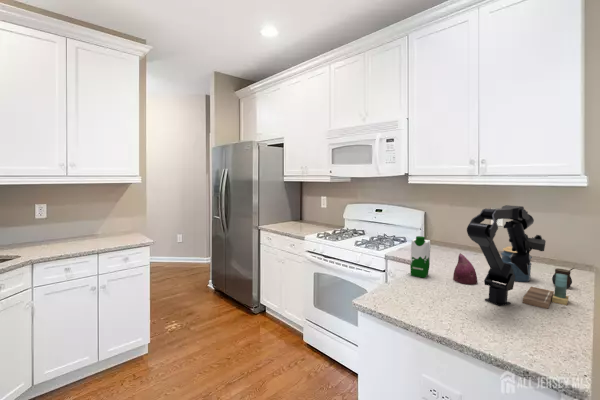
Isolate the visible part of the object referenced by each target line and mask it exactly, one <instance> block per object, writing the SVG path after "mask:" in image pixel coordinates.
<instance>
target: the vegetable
mask: <svg viewBox="0 0 600 400" xmlns="http://www.w3.org/2000/svg"><path fill="white" fill-rule="evenodd" d="M457 259H458V260H457V262H456V263H457V264H456V265H455V268H454V272H453V277H452V280H453V281H454V282H456V283H459V284H462V285H468V286H470V285H471V286H472V285H473V286H474V285H477V284H478V277H477V272H476V268H475V267H474V265H473V264H472V263H471V262H470V260H469V259H468V258H467V257H466V256H465V255H464V254H462V253H461V252H459V254H458V258H457Z"/></svg>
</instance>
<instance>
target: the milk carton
mask: <svg viewBox="0 0 600 400" xmlns="http://www.w3.org/2000/svg"><path fill="white" fill-rule="evenodd" d="M425 238H426V237H425V236H420V235H418V236H416V237H415V238H413V239H412V240H411V242H410V243H411V245H410V246H411V247H410V263H409V264H410V266H409V267H410V276H411V277H417V278H422V279H426V278H427V276H428V275H429V270H430V264H431V263H430V262H431V240H430V239H425Z"/></svg>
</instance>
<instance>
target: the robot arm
mask: <svg viewBox="0 0 600 400" xmlns="http://www.w3.org/2000/svg"><path fill="white" fill-rule="evenodd" d="M485 220H490V221H493V222H492V224H490V223H483V222H484V221H485ZM498 220H509V221H505V224H504V225H503V229H506V231H507V234H508V237H509V238H508V242H509V243H510V244H511V246H512V251H516V252H517V253H513V254H512V255H511V258H510V259H511V262H512V263H513V264H515V265H516V266H517V267H518V268H519V269H520V270H521V271H522V272H523V273H524V274H525V275H528V265H530V262H531V260H532V258H530V256H531V251H532V250H536V251H538V252H545V248H546V241H547V240H546V239H544V238H543V237H542V235H540V234H536V235H535V236H534V237H529V236H528V234H527V233H526V232H525V230H527V229H528V228H530V227H531V226H532V225H533V224H534V221H535V219H534V218H533V216H532V215H531V214H529V213H528V211H527V210H526V209H525V207H524V206H520V205H508V204H507V205H503V206H501V208H483V209H482V210H480V213H478V214H477V215H476V216H474V217H472V219H471V220H470V221H469V224H468V225H467V227H466V233H467V235H468V237H469V238H470V240H471V241H473V242H474V243H475V244H477V245H478V246H479V247H480V250H481V252H482V254H483V256H484V258H485V260H486V262H487V264H488V266H489V270H488V272H487V274H486V276H485V278H484V280H483V283H484V286H488V297H486V298H484V301H486V302H489V303H491V304H493V305H496V306H498V307H501V306H507V305H511V303H512V302H510V301H508V293H509V291H511V290H512V291H513V290H514V286H515V282H516V281H515V274H514V272H513V271H514V270H513V269H512V266H511V265H510V264H507V263H503V261H502V259H501V258H502V255H501V253H500V252H499V250H498V248H497V245H496V243H495V241H494V238H495V237H496V234H497V232H498V230H499V226H498V225H499V224H498ZM529 252H530V253H529Z"/></svg>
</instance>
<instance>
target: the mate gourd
mask: <svg viewBox="0 0 600 400" xmlns="http://www.w3.org/2000/svg"><path fill="white" fill-rule="evenodd" d="M574 269H575V267H572V268H570V269H566V268H554V274H553V275H552V276H551V277H552V278H551V282H552V284H553V285H554V286H555V280H556V274H565V275H567V288H566V289H569V288H570V287H571V285H573V280H572V277H571V273H572V272H571V271H572V270H574Z"/></svg>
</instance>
